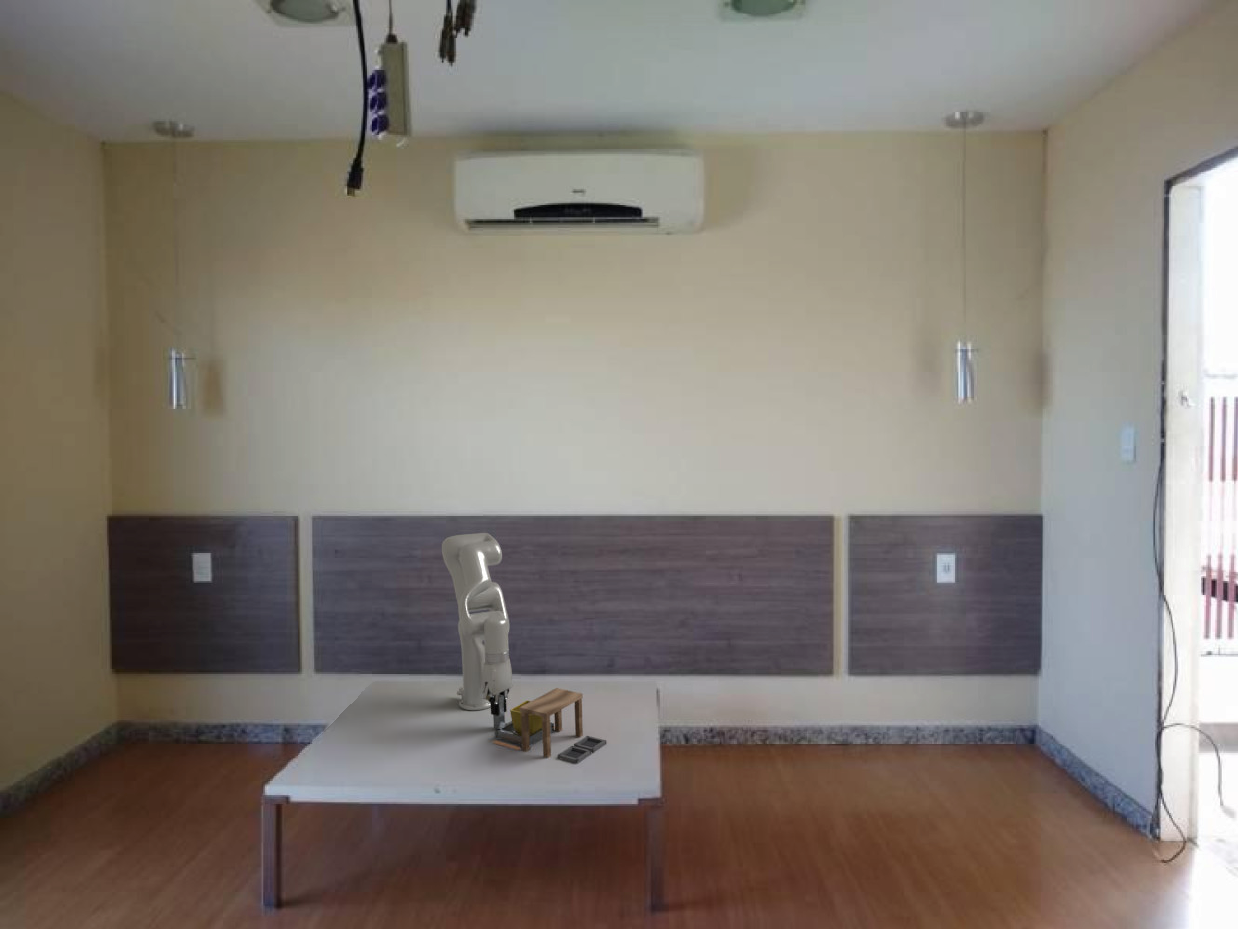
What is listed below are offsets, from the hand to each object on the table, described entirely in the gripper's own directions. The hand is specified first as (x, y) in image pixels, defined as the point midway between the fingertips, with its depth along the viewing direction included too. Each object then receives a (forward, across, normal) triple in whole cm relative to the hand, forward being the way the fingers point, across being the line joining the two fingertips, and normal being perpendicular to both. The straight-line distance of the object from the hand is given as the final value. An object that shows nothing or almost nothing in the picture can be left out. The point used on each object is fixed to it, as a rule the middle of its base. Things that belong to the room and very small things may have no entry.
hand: (498, 712), depth 241 cm
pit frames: (+5, 0, +32) cm, 33 cm away
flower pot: (+5, -1, +12) cm, 13 cm away
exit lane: (+5, 0, +10) cm, 12 cm away
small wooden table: (+5, 0, +22) cm, 22 cm away
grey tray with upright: (+5, 0, +8) cm, 9 cm away
